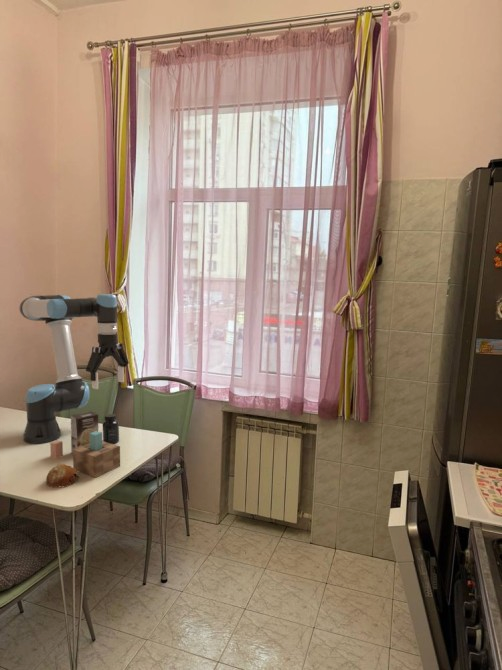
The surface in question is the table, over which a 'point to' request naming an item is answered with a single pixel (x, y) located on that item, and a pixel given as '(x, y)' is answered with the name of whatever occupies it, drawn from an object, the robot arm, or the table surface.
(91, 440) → the long peg
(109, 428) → the supplement bottle
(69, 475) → the bread roll
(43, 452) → the table surface
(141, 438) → the table surface
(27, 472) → the table surface
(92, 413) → the coffee box
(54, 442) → the short peg
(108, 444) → the hole block
